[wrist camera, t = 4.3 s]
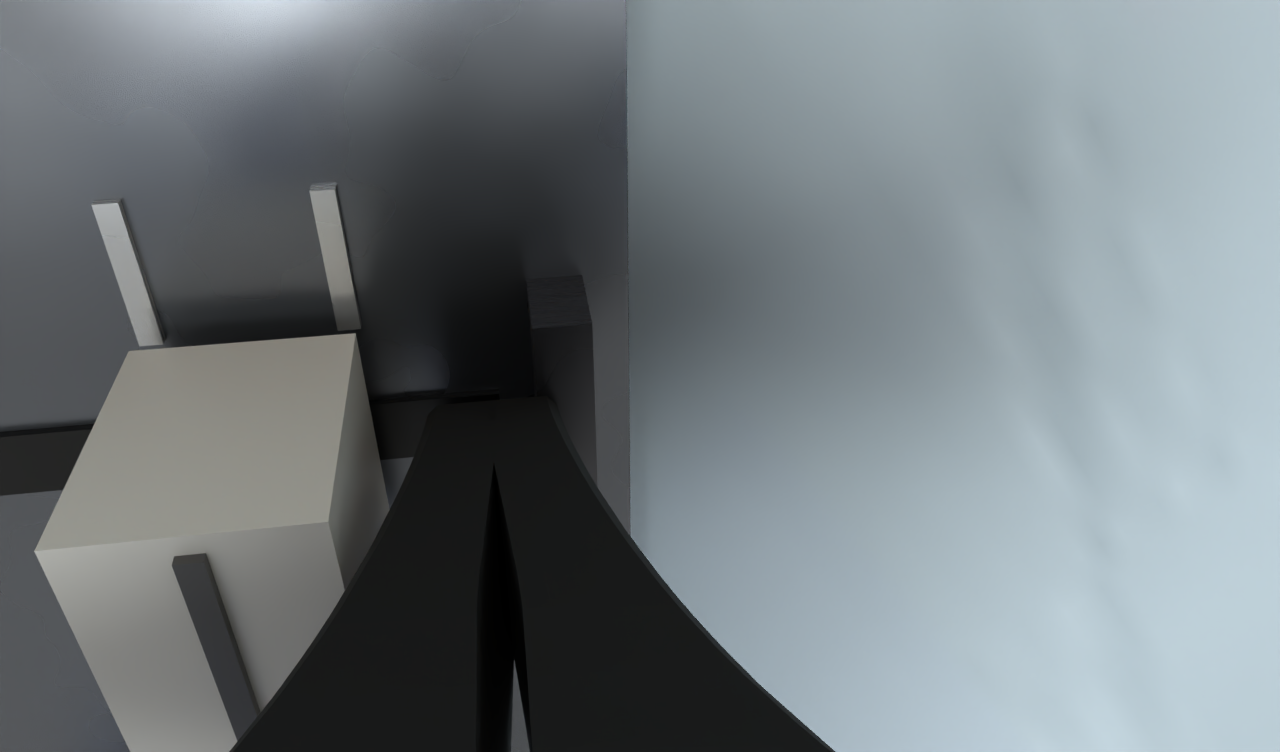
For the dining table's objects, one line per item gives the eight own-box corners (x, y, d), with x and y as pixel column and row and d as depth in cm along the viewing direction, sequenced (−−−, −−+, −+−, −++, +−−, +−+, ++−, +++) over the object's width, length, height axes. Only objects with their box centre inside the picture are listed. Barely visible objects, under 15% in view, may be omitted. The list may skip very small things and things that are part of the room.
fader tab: (398, 557, 12) (385, 771, 10) (207, 578, 12) (147, 803, 10) (356, 332, 10) (327, 530, 8) (128, 350, 10) (30, 561, 8)
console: (619, 874, 22) (641, 1027, 19) (-85, 978, 20) (-160, 1160, 18) (598, -194, 10) (643, -148, 8) (-1072, -165, 8) (-1683, -95, 6)
